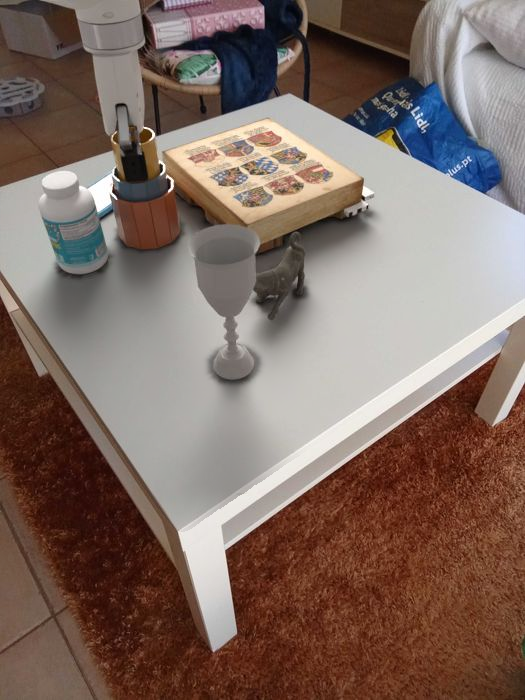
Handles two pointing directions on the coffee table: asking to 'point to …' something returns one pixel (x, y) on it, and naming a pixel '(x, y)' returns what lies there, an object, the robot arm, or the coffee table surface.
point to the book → (264, 181)
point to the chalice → (227, 286)
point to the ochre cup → (147, 147)
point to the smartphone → (102, 194)
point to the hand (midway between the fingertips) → (138, 166)
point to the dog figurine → (282, 276)
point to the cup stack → (145, 210)
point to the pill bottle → (72, 223)
